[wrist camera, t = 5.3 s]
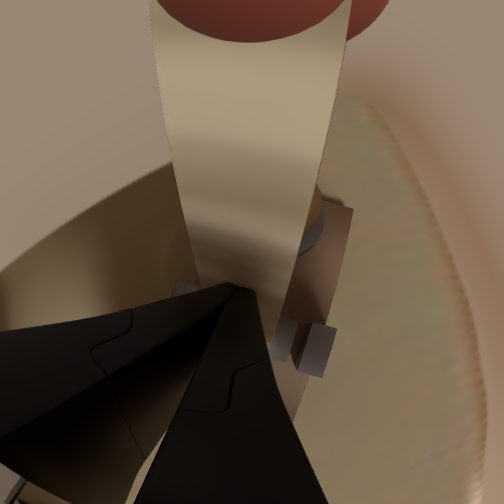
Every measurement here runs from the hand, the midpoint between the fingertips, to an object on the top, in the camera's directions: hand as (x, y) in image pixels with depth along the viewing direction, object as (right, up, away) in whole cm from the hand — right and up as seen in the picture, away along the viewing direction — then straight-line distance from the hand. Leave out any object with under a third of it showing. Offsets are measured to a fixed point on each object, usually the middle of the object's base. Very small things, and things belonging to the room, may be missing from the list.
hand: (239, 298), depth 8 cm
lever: (0, -3, +7) cm, 8 cm away
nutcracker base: (+1, -2, +9) cm, 9 cm away
